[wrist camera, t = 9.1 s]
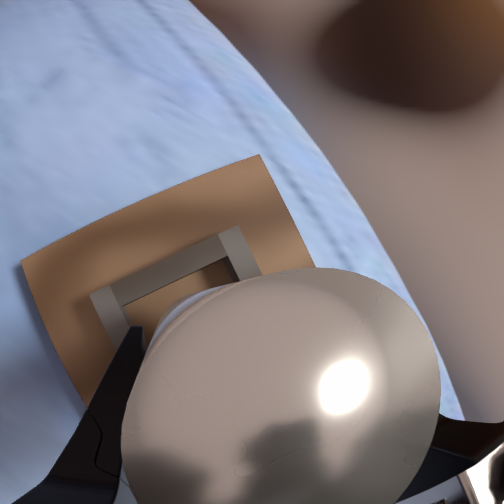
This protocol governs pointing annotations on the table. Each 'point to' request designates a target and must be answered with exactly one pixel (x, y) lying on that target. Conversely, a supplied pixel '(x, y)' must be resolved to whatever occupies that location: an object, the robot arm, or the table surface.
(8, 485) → the table surface
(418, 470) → the robot arm
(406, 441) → the steel cup
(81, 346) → the brown flat square board
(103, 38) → the table surface
